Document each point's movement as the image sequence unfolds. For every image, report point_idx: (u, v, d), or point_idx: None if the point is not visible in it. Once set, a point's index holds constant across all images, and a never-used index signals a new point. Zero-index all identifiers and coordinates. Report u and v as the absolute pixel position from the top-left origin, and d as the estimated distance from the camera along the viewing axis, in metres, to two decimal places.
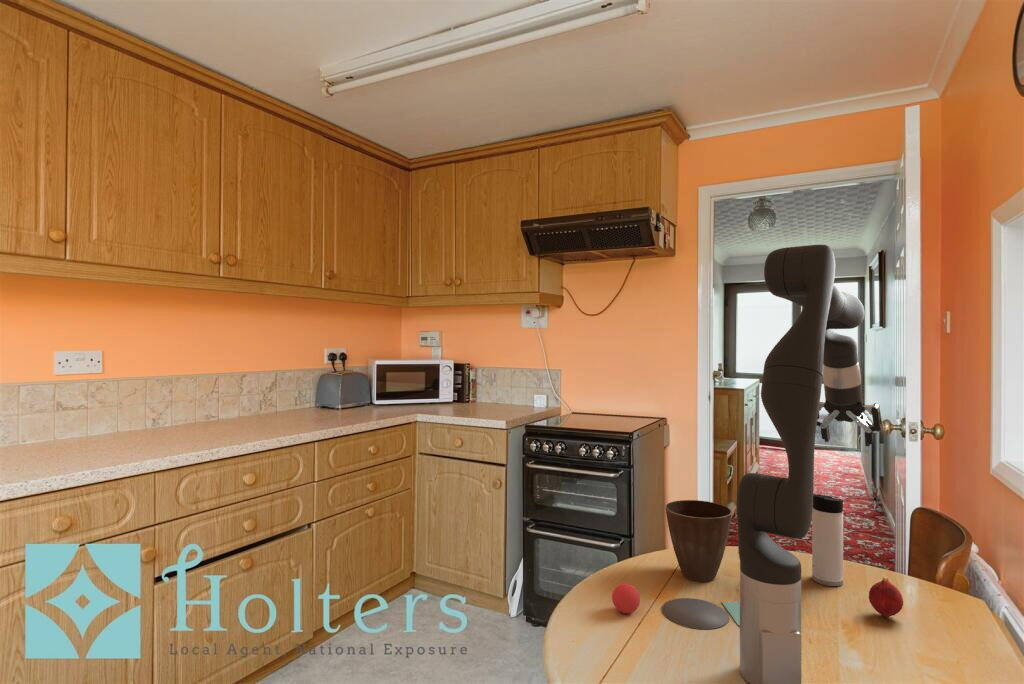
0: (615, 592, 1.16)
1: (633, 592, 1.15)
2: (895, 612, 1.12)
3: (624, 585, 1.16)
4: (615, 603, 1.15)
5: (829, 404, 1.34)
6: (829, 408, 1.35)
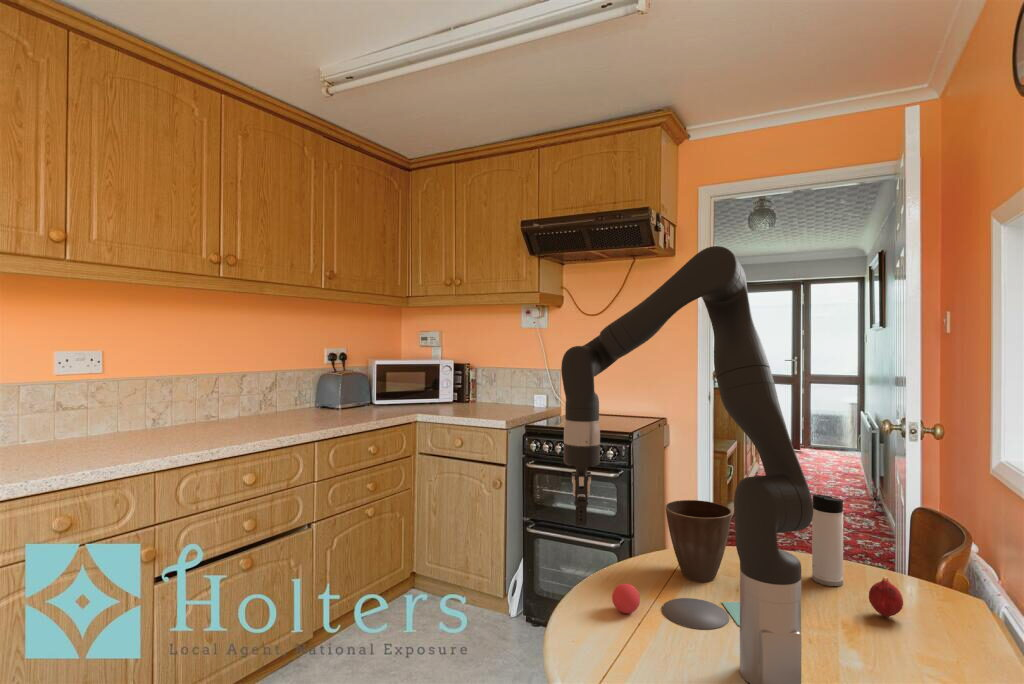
0: (615, 592, 1.16)
1: (633, 592, 1.15)
2: (895, 612, 1.12)
3: (624, 585, 1.16)
4: (615, 603, 1.15)
5: (586, 472, 1.16)
6: None
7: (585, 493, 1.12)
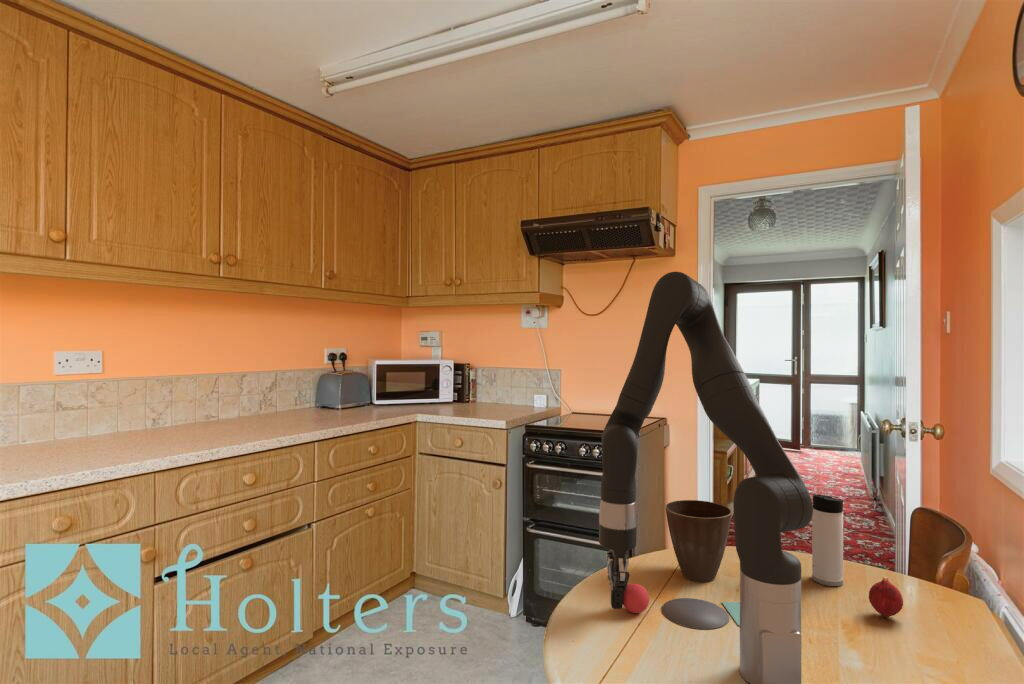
0: (629, 587, 1.16)
1: (645, 595, 1.15)
2: (895, 612, 1.12)
3: (639, 585, 1.16)
4: (624, 597, 1.15)
5: (626, 557, 1.13)
6: None
7: (625, 585, 1.12)
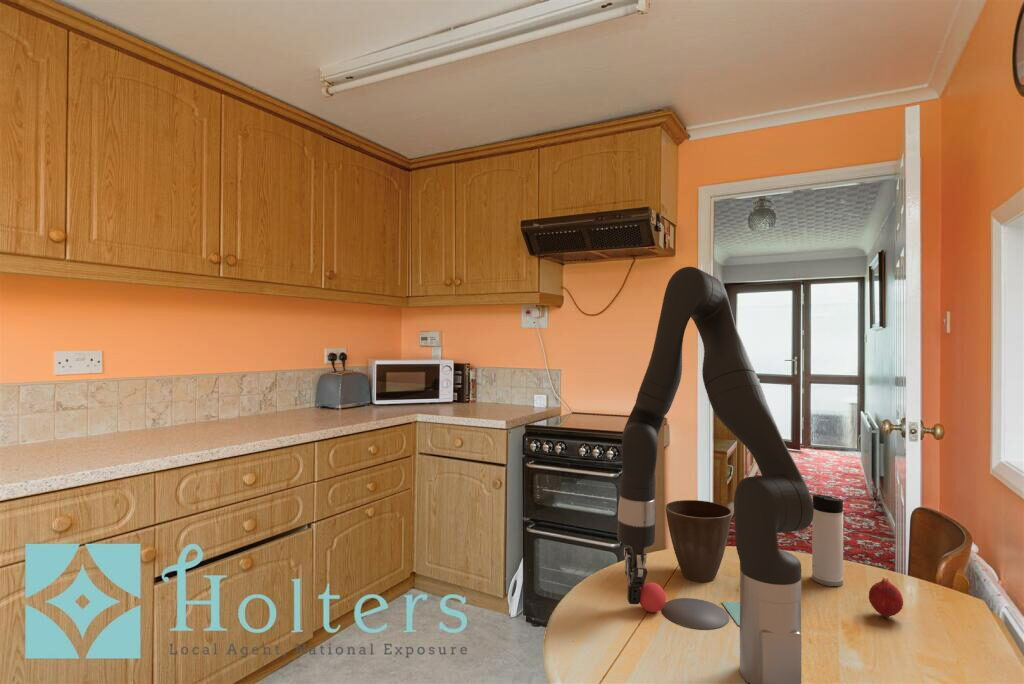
0: (652, 584, 1.17)
1: (664, 600, 1.15)
2: (895, 612, 1.12)
3: (662, 589, 1.17)
4: (644, 589, 1.16)
5: None
6: None
7: (642, 581, 1.12)
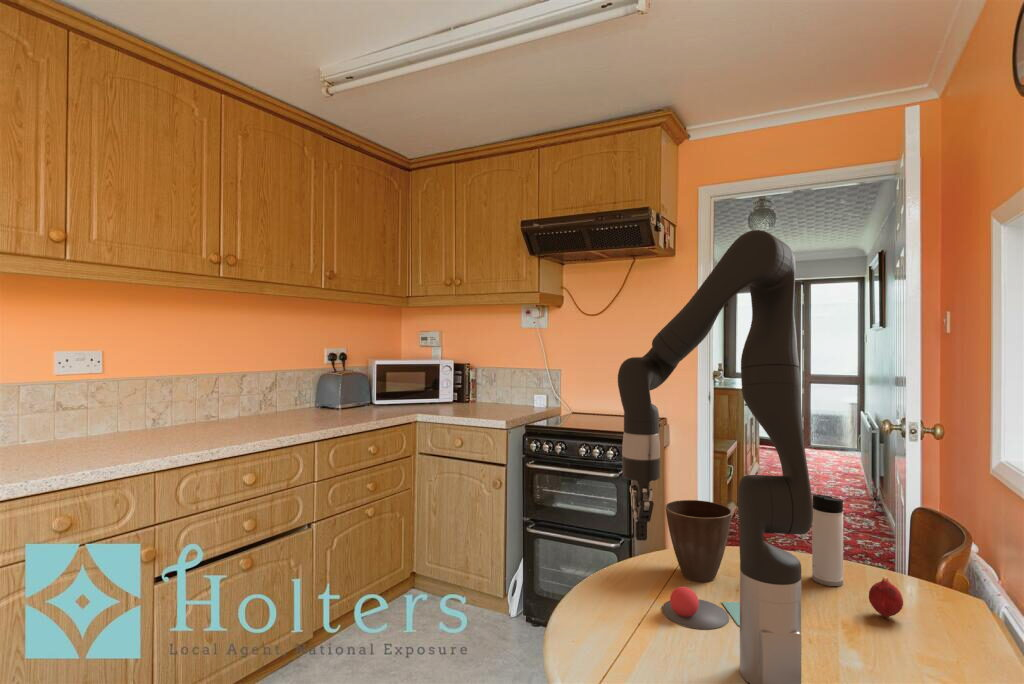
0: None
1: None
2: (895, 612, 1.12)
3: None
4: (696, 607, 1.13)
5: None
6: None
7: (649, 515, 1.12)
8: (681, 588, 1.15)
